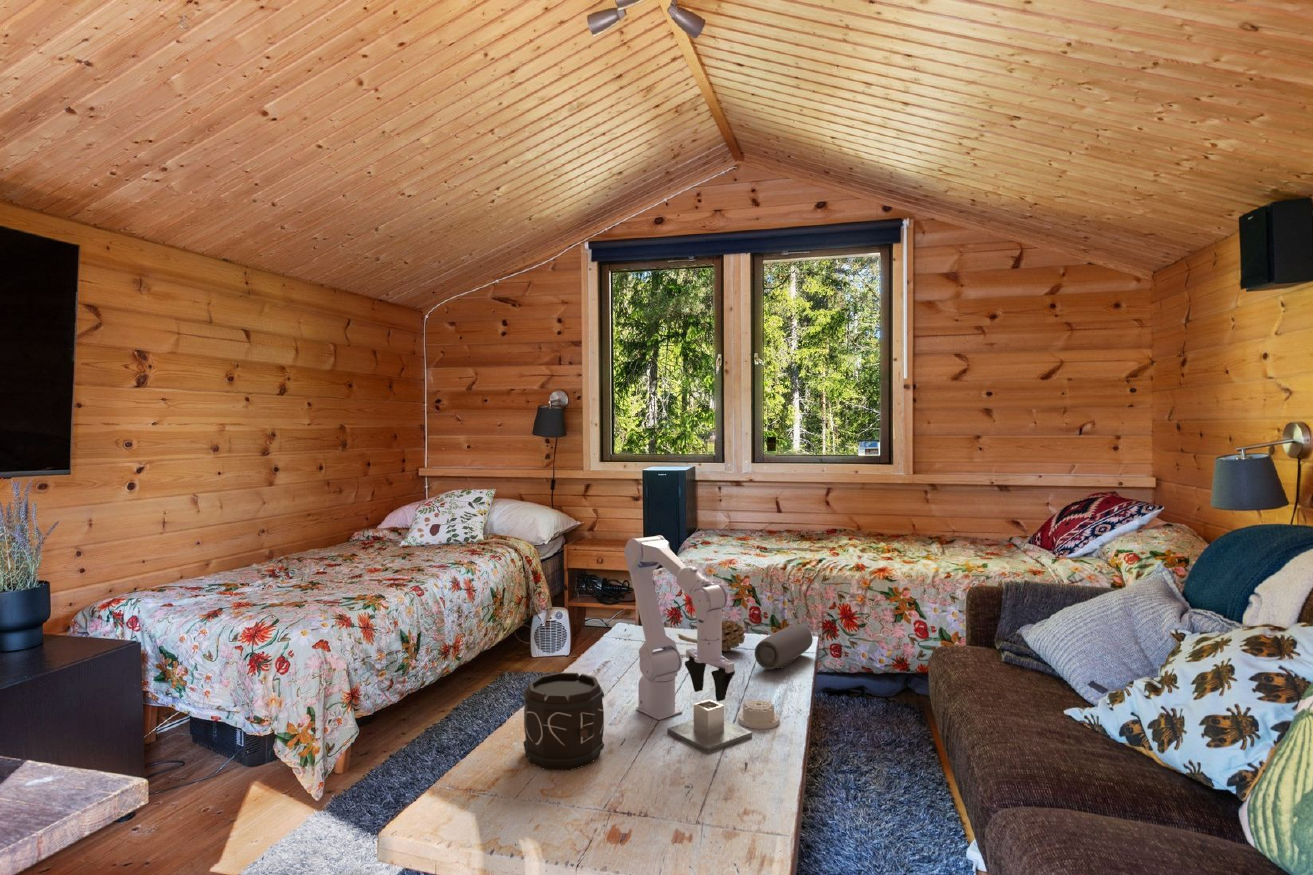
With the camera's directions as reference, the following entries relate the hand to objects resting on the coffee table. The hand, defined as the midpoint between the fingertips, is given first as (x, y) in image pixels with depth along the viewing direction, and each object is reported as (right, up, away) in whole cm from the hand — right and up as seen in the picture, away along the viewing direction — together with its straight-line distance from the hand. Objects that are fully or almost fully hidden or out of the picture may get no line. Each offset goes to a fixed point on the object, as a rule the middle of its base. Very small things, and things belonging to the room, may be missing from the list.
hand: (709, 695), depth 178 cm
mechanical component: (+13, -10, +9) cm, 18 cm away
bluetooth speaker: (+26, -9, +53) cm, 60 cm away
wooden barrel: (-32, -10, -10) cm, 35 cm away
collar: (0, -8, 0) cm, 8 cm away
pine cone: (+5, -8, +64) cm, 65 cm away
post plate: (0, -9, 0) cm, 9 cm away
